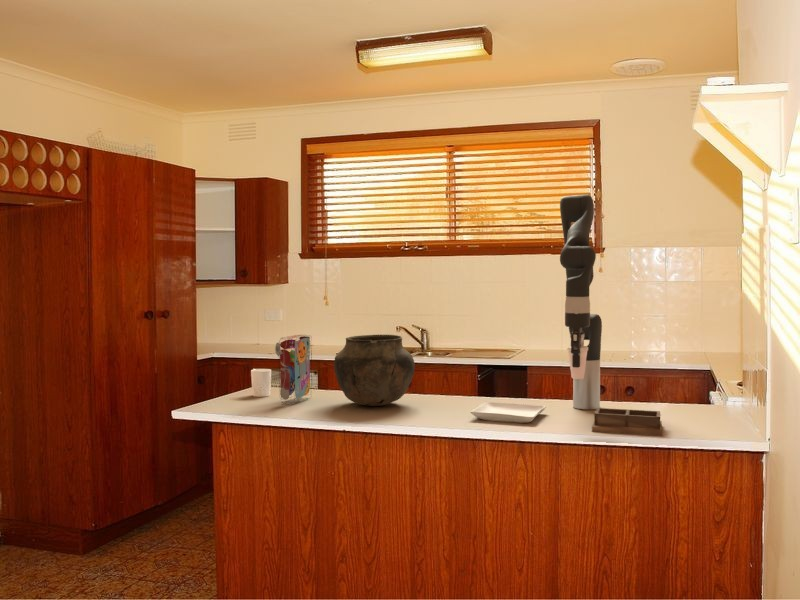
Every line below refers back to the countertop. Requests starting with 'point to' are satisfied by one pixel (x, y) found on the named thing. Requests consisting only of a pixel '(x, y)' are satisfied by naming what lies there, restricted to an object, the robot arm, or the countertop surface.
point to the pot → (374, 369)
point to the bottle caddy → (627, 421)
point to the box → (299, 375)
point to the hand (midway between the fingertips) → (577, 365)
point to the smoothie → (579, 371)
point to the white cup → (261, 382)
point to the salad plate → (507, 412)
